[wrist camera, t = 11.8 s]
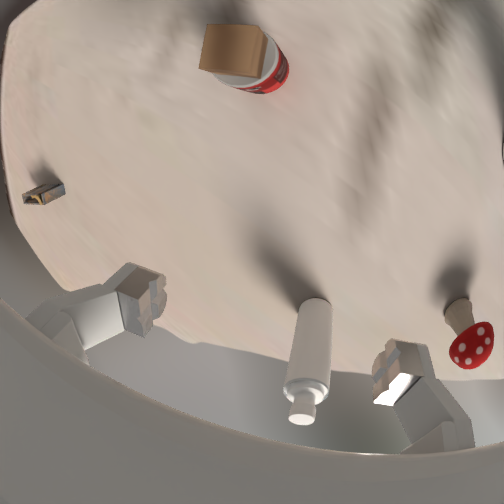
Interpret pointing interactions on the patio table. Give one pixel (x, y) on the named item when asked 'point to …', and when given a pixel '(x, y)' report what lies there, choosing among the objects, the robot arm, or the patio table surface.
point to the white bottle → (309, 360)
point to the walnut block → (234, 50)
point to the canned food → (271, 75)
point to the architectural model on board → (43, 194)
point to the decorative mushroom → (468, 336)
